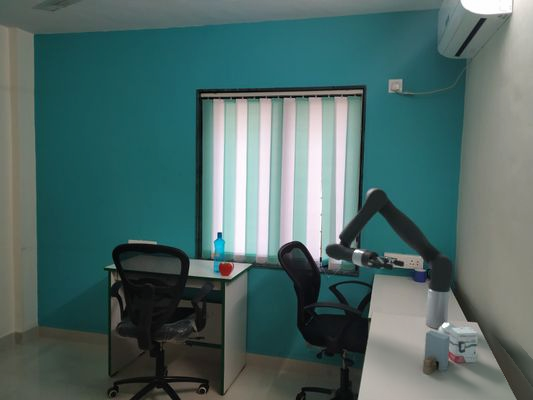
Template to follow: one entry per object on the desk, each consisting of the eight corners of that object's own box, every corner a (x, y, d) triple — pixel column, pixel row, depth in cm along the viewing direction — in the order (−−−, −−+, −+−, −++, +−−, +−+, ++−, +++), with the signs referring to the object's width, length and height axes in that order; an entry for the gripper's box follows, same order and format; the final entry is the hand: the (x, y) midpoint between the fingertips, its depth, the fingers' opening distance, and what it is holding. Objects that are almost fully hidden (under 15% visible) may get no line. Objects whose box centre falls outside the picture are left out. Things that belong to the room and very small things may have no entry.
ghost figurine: (432, 345, 170) (433, 321, 169) (442, 338, 176) (443, 316, 175) (454, 352, 163) (455, 328, 162) (463, 346, 170) (465, 322, 169)
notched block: (429, 360, 156) (431, 330, 155) (447, 367, 151) (449, 336, 150) (424, 364, 153) (426, 333, 152) (442, 371, 148) (444, 339, 147)
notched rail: (443, 358, 158) (444, 347, 158) (448, 360, 157) (449, 349, 156) (422, 372, 147) (423, 360, 147) (428, 374, 146) (429, 362, 145)
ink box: (455, 363, 155) (457, 333, 154) (448, 356, 160) (450, 327, 158) (476, 362, 156) (478, 332, 155) (468, 356, 161) (470, 327, 160)
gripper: (356, 252, 177) (389, 259, 165) (374, 248, 187) (407, 254, 175) (355, 269, 178) (388, 277, 166) (373, 264, 188) (406, 271, 176)
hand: (398, 265), depth 171 cm, fingers open, 8 cm apart
